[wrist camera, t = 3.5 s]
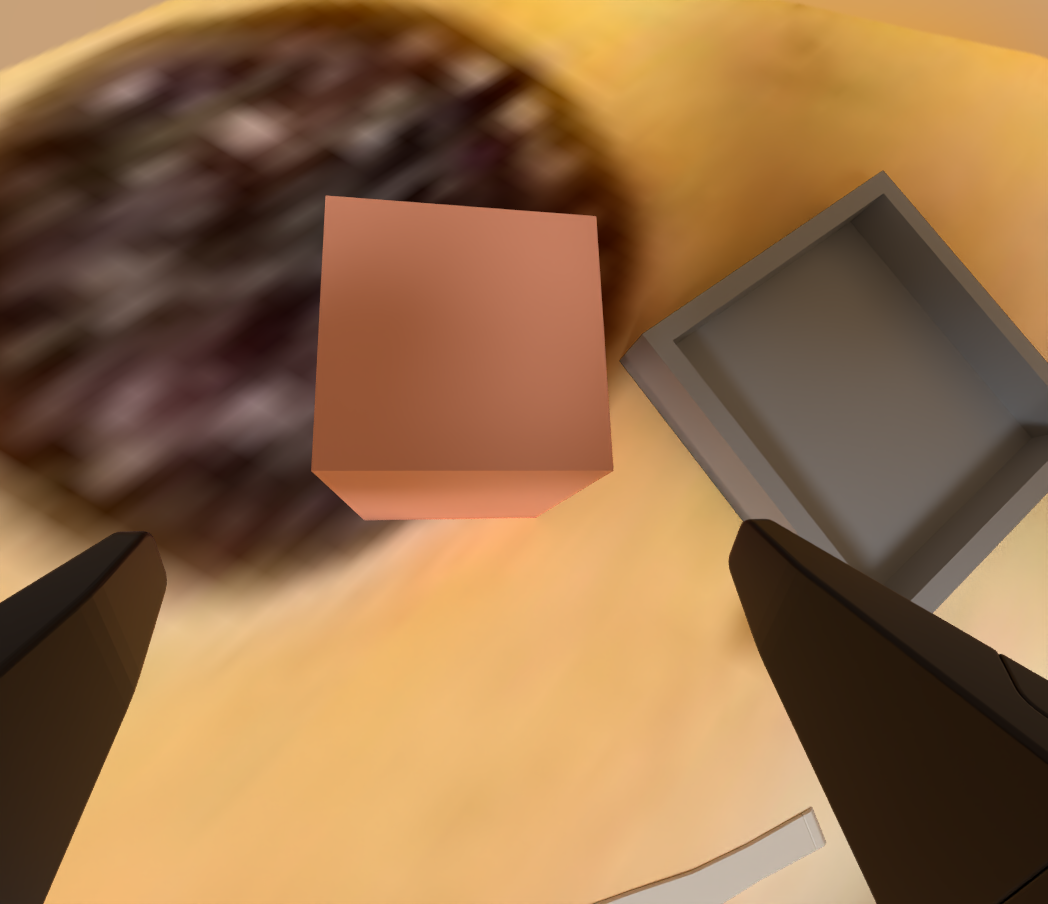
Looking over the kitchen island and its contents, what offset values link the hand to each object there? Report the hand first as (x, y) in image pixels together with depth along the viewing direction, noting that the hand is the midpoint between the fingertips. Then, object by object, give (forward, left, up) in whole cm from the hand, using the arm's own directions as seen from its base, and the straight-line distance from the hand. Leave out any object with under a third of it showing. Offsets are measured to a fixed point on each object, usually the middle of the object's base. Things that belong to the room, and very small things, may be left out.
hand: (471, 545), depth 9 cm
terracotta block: (+4, -3, -11) cm, 12 cm away
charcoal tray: (-4, -17, -11) cm, 21 cm away
